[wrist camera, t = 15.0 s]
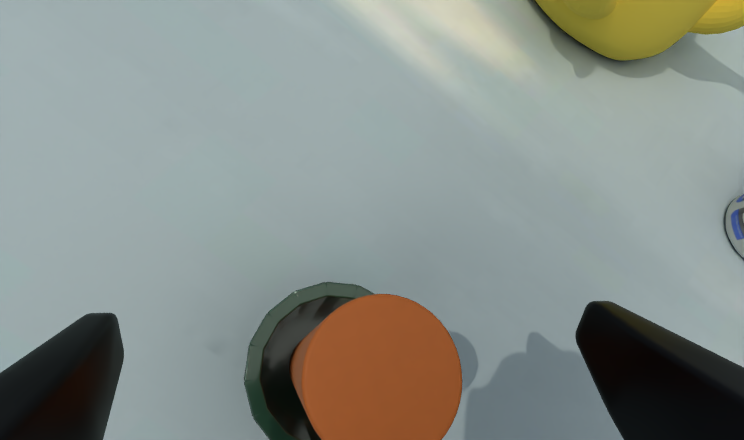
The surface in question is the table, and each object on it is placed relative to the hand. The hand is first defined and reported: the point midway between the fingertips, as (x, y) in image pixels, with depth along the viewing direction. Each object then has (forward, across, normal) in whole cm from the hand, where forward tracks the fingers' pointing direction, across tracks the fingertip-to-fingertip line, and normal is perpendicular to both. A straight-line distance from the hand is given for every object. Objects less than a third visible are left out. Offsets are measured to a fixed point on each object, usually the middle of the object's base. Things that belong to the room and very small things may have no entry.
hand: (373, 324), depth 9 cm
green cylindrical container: (+8, 0, +9) cm, 12 cm away
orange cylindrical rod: (+8, 0, +9) cm, 12 cm away
